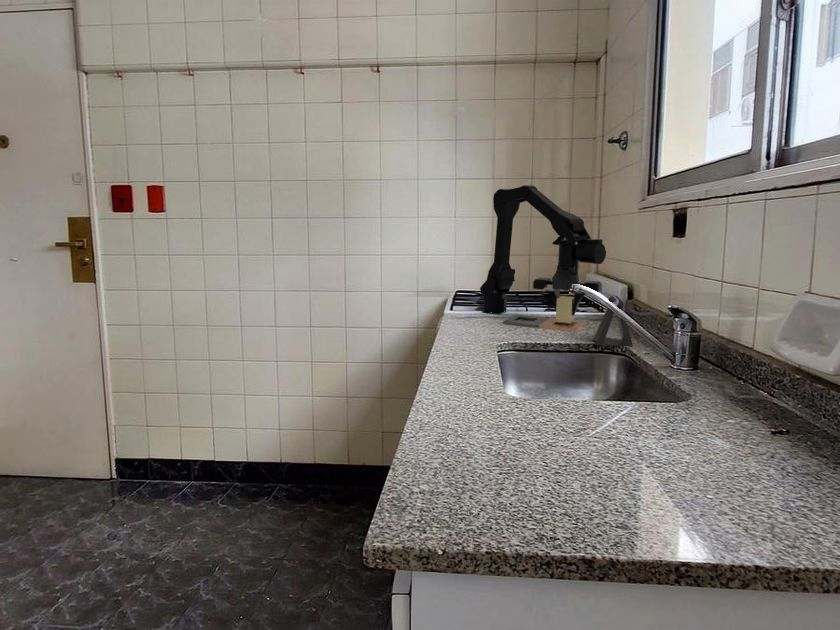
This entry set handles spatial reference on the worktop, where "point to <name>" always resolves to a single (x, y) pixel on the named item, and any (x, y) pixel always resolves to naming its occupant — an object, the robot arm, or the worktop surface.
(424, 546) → the worktop surface
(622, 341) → the phone stand
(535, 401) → the worktop surface
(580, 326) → the frame with rectangular openings
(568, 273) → the robot arm
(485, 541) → the worktop surface
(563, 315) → the wooden block
